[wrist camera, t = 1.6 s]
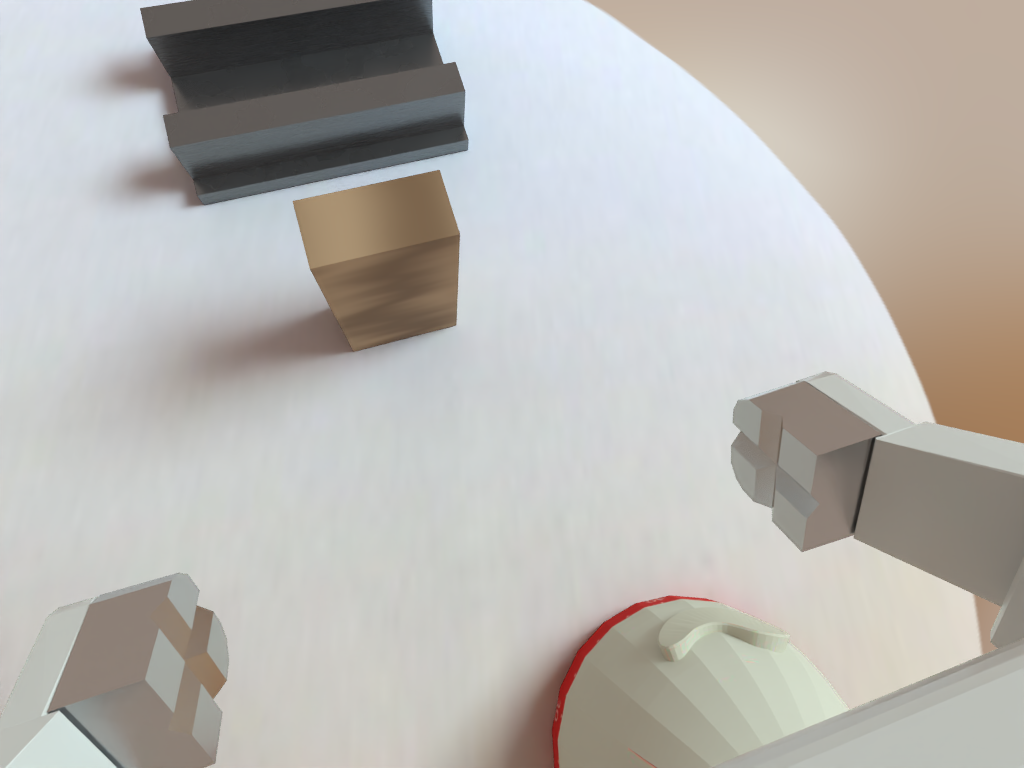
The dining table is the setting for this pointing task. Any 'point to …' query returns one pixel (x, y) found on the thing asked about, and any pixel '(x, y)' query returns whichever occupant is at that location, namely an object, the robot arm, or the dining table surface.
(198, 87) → the door track
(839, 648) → the dining table surface
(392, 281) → the wooden block
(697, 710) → the kitchen timer
